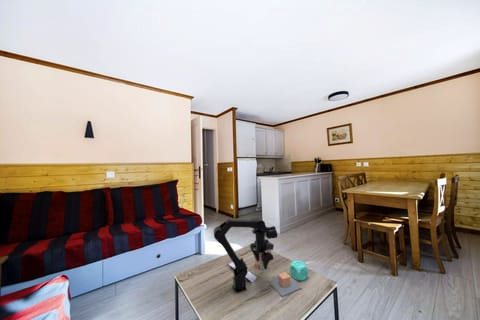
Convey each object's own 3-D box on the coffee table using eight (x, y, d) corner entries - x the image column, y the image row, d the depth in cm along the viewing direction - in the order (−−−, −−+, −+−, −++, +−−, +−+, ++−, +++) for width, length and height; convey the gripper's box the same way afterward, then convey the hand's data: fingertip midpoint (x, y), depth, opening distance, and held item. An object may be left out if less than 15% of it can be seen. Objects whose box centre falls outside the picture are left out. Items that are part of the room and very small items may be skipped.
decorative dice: (308, 278, 109) (307, 265, 109) (299, 282, 106) (298, 269, 106) (299, 271, 116) (298, 259, 117) (289, 275, 113) (289, 262, 113)
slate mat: (281, 297, 95) (281, 295, 95) (268, 281, 108) (268, 280, 108) (301, 288, 100) (301, 287, 100) (286, 274, 113) (286, 274, 113)
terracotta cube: (283, 288, 101) (283, 279, 101) (278, 282, 105) (277, 274, 106) (290, 285, 103) (289, 276, 103) (285, 280, 107) (284, 272, 108)
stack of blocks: (263, 253, 142) (263, 238, 142) (271, 254, 140) (270, 239, 140) (255, 268, 122) (254, 250, 123) (264, 270, 120) (263, 251, 120)
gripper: (280, 242, 101) (281, 269, 101) (263, 231, 119) (265, 255, 118) (263, 247, 97) (265, 275, 97) (249, 235, 114) (250, 259, 114)
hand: (261, 265), depth 107 cm, fingers open, 9 cm apart
